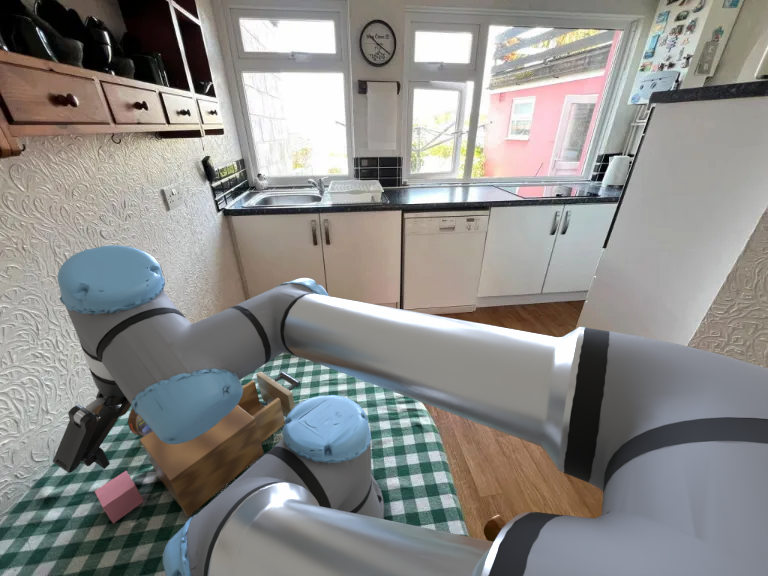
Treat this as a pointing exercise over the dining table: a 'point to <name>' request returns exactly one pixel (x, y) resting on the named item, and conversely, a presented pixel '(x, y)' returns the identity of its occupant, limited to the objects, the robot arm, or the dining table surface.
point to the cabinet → (205, 459)
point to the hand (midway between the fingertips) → (143, 422)
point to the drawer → (268, 402)
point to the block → (119, 496)
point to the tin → (138, 424)
